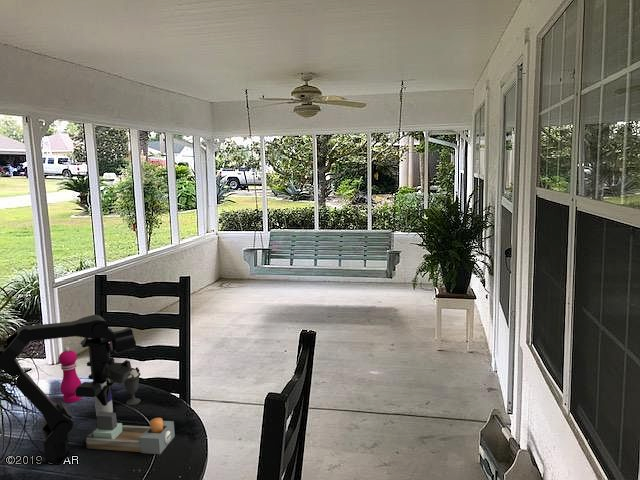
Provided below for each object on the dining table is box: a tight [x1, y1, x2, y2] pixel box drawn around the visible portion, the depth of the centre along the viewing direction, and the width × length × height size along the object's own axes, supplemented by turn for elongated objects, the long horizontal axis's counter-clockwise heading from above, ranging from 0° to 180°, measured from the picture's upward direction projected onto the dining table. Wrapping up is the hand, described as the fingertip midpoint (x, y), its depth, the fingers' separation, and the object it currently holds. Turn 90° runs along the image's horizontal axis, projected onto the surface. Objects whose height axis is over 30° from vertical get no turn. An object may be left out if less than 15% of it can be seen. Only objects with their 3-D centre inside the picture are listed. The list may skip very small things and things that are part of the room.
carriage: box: [92, 412, 123, 439], centre depth 162 cm, size 6×6×7 cm
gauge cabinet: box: [140, 420, 176, 455], centre depth 160 cm, size 10×6×5 cm, turn 171°
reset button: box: [149, 417, 164, 434], centre depth 159 cm, size 4×4×4 cm
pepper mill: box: [58, 346, 83, 404], centre depth 190 cm, size 7×7×20 cm
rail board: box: [85, 424, 150, 453], centre depth 162 cm, size 9×18×4 cm, turn 81°
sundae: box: [123, 366, 141, 406], centre depth 187 cm, size 7×7×15 cm
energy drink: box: [93, 389, 114, 417], centre depth 178 cm, size 5×5×12 cm
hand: (105, 405), depth 161 cm, fingers closed
